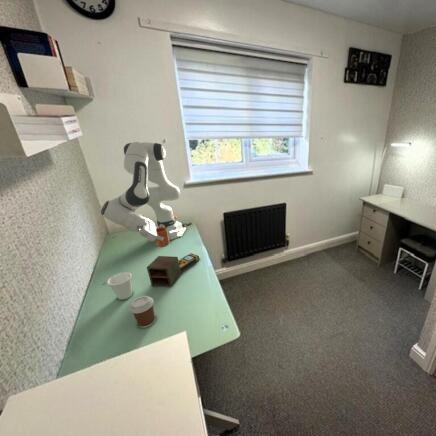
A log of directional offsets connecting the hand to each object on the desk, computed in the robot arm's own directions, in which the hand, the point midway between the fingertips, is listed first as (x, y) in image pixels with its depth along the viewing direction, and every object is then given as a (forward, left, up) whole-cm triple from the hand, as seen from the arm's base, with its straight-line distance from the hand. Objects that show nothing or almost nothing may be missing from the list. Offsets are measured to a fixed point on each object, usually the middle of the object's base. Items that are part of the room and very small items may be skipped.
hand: (162, 236), depth 129 cm
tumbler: (0, -1, -5) cm, 5 cm away
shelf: (+7, +2, -24) cm, 25 cm away
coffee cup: (+36, +9, -24) cm, 44 cm away
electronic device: (-8, +5, -24) cm, 26 cm away
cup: (+21, -12, -24) cm, 34 cm away
